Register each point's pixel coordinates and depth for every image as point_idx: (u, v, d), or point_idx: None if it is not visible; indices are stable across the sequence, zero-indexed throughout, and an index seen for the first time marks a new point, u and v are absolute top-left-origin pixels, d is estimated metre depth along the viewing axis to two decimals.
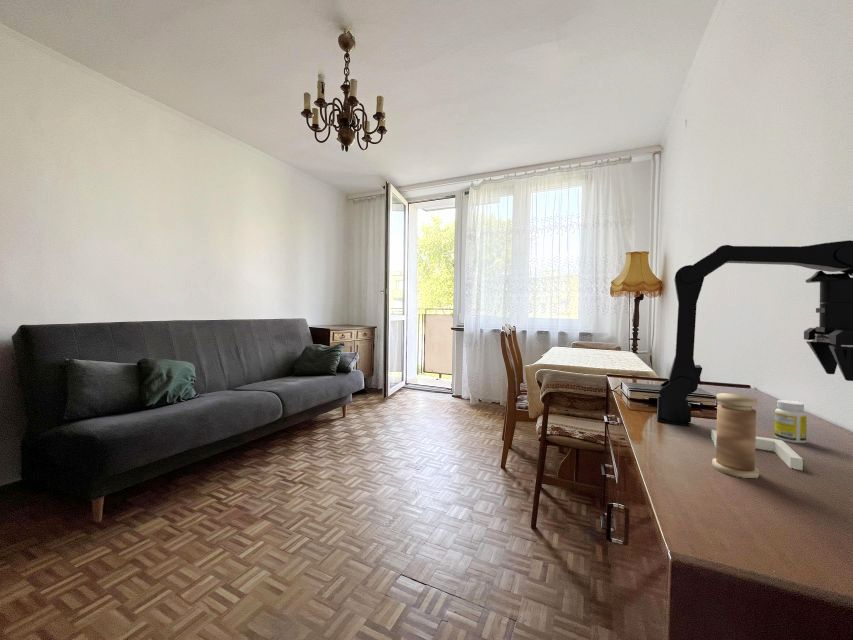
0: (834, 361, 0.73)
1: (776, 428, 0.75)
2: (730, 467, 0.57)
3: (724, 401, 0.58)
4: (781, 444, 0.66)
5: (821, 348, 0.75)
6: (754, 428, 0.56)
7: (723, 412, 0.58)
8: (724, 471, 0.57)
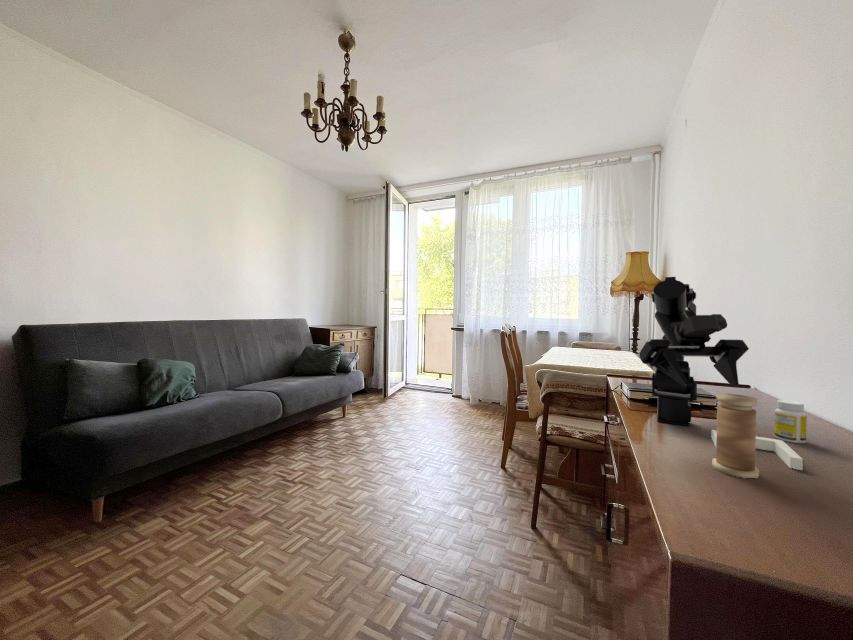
0: (729, 372, 0.67)
1: (776, 428, 0.75)
2: (730, 467, 0.57)
3: (724, 401, 0.58)
4: (781, 444, 0.66)
5: (719, 366, 0.70)
6: (754, 428, 0.56)
7: (723, 412, 0.58)
8: (724, 471, 0.57)
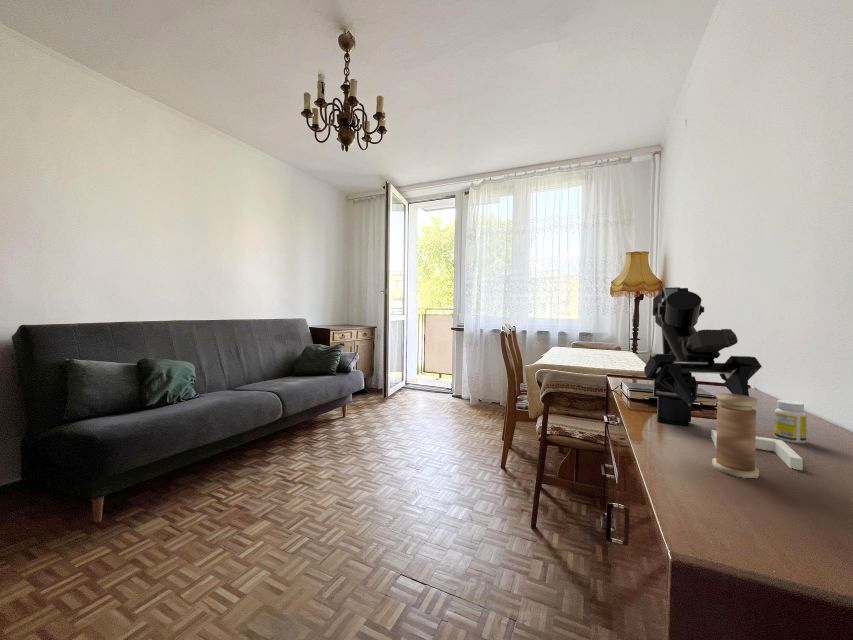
0: (740, 391, 0.63)
1: (776, 428, 0.75)
2: (730, 467, 0.57)
3: (724, 401, 0.58)
4: (781, 444, 0.66)
5: (730, 384, 0.66)
6: (754, 428, 0.56)
7: (723, 412, 0.58)
8: (724, 471, 0.57)
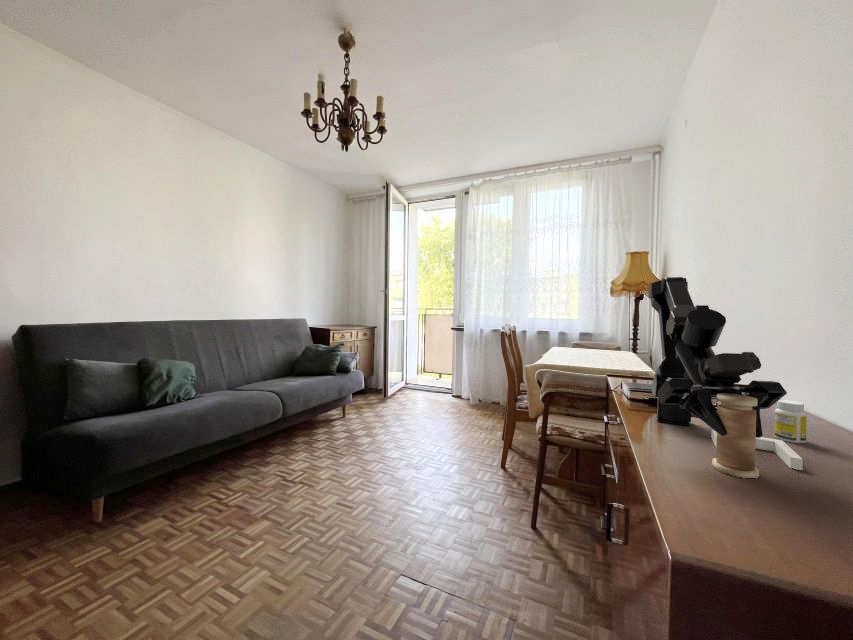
0: None
1: (776, 428, 0.75)
2: (730, 467, 0.57)
3: (724, 401, 0.58)
4: (781, 444, 0.66)
5: None
6: (754, 428, 0.56)
7: (723, 412, 0.58)
8: (724, 471, 0.57)
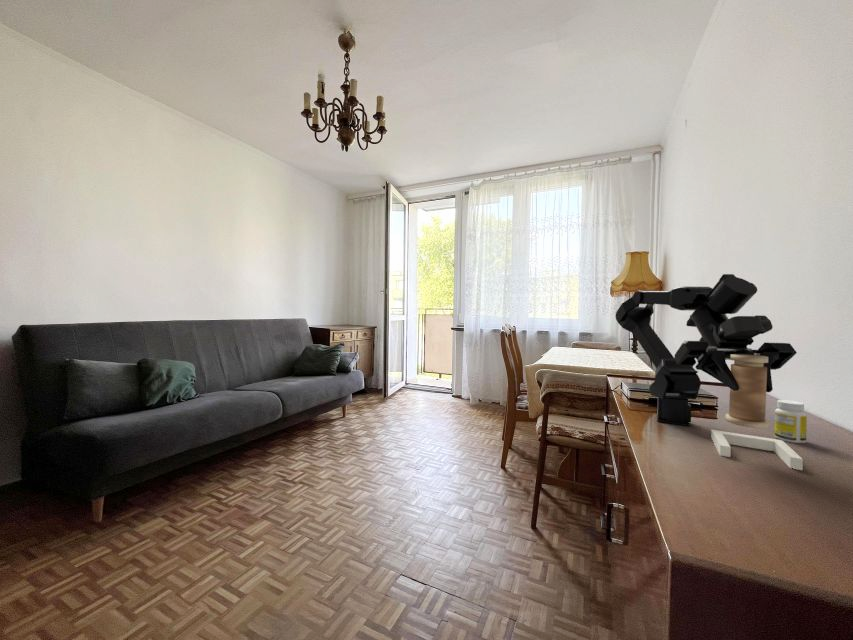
0: None
1: (776, 428, 0.75)
2: (742, 419, 0.63)
3: (737, 359, 0.63)
4: (781, 444, 0.66)
5: None
6: (765, 383, 0.62)
7: (736, 369, 0.63)
8: (736, 423, 0.63)
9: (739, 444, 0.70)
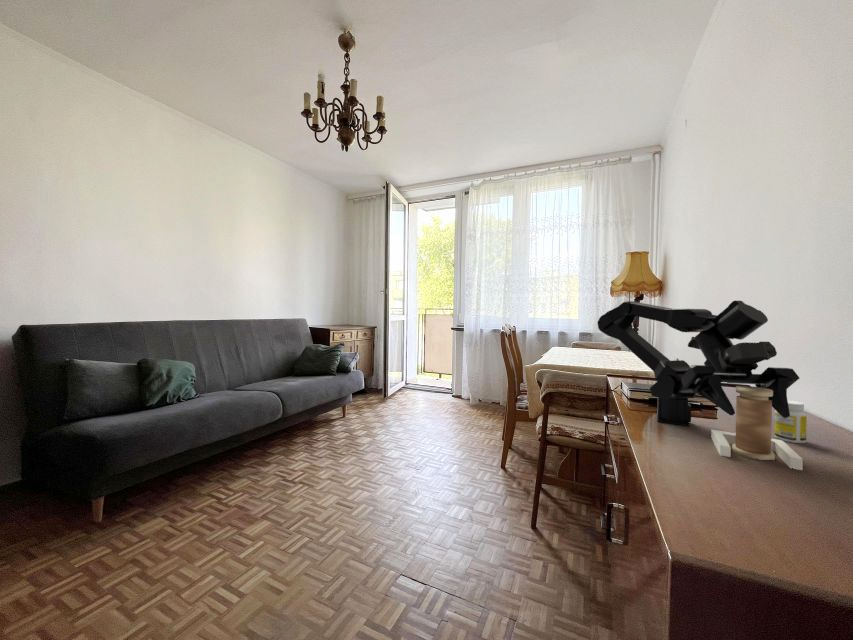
0: (779, 402, 0.65)
1: (776, 428, 0.75)
2: (749, 451, 0.64)
3: (743, 392, 0.65)
4: (781, 444, 0.66)
5: None
6: (770, 416, 0.63)
7: (742, 402, 0.65)
8: (743, 455, 0.65)
9: None
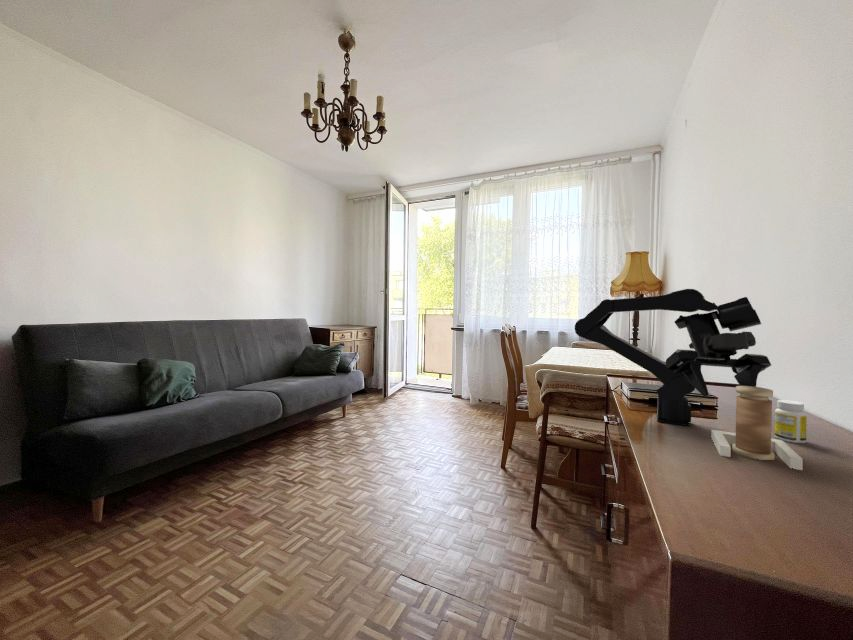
0: None
1: (776, 428, 0.75)
2: (749, 451, 0.64)
3: (743, 392, 0.65)
4: (781, 444, 0.66)
5: (740, 378, 0.76)
6: (770, 416, 0.63)
7: (742, 402, 0.65)
8: (743, 455, 0.65)
9: None
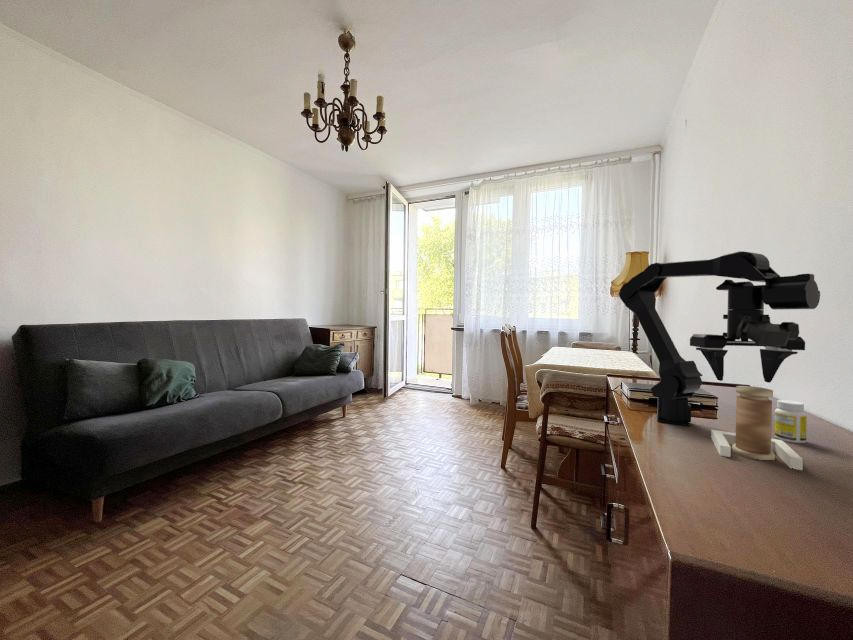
0: (770, 369, 0.72)
1: (776, 428, 0.75)
2: (749, 451, 0.64)
3: (743, 392, 0.65)
4: (781, 444, 0.66)
5: (765, 355, 0.73)
6: (770, 416, 0.63)
7: (742, 402, 0.65)
8: (743, 455, 0.65)
9: None
